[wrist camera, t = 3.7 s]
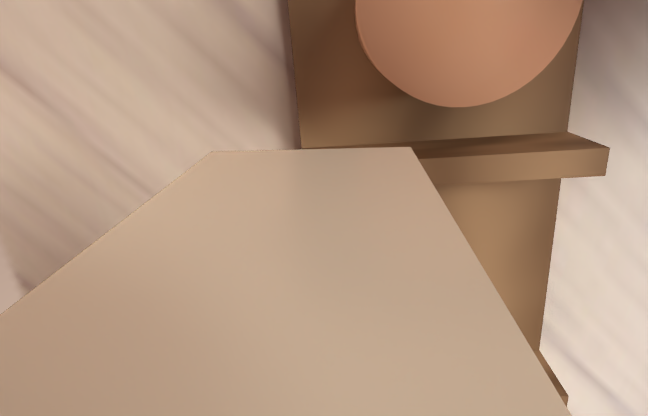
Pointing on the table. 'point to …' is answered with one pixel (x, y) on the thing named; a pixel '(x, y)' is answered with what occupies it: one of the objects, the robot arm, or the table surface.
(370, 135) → the rack
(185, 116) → the table surface
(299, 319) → the cream rectangular block
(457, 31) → the peach rounded capsule
